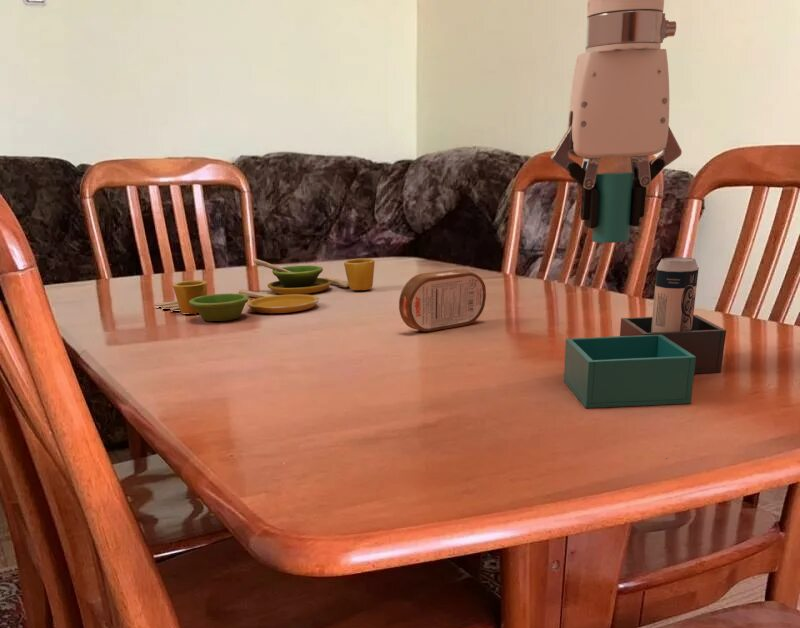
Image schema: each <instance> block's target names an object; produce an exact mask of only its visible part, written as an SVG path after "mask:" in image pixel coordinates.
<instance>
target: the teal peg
mask: <svg viewBox="0 0 800 628" xmlns="http://www.w3.org/2000/svg"><path fill="white" fill-rule="evenodd" d="M633 174H634V173H633V172H632V171H631V172H630V171H622V172H621V171H619V172H618V171H617V172H601V173H597V176H596V180H595V183H596V189H598V190H599V202H598V220H597V227H595V228H592V236H591V237H592V239H591V241H592V242H593V243H600V244H613V243H615V244H616V243H624V242H629V241H630V229H631V225H630V216H631V202H632V188H633Z"/></svg>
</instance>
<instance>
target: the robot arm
mask: <svg viewBox="0 0 800 628" xmlns="http://www.w3.org/2000/svg"><path fill="white" fill-rule="evenodd" d="M664 5H665V0H587V8H586V9H587V10H586V11H587V12H586V30H585V33H586V34H585V50H584V51H585V53H579V54H577V56H576V60H575V64H574V70H573V75H572V80H571V81H572V82H571V88H570V94H569V95H570V96H569V104H568V113H567V114H568V115H567V125H566V132H565V133H564V135H563V136H562V138H561V140H560V141H559V143H558V144H557V146H556V147H555V150H554V151H553V152H552V154H551V155H550V161H551V162H552V163H553V164H554V165H556V167H559V168H560V169H562V170H563V171H565V173H567V174H568V175H569V176H570V178H572V179H573V180H574V181H575V183H576V184H577V185H578V187H579V188H580V189H581V197H580V201H581V202H580V220H581V221H584V227H585V228H588V229H593V228H595V227H597V220H598V202H599V190H598V189H596V183H595V181H596V176H597V174H598V172H599V167H600V162H601V159H603V158H604V159H605V158H606V159H607V158H627V157H628V158H629V157H630V162H631V163H630V165H631V172H633V173H634V174H633V188H632V202H631V216H630V227H639V225H640V219H641V218H644V216H645V209H646V196H647V187H649V186H650V184H652V183H651V182H652V181H653V180H654V179H655V178H656V177H657V176H658V175H659V174H660V173H661V172H662V171H663V169H664V168H665V167H667V166H668V165H670V164H671V163H673V162H674V161H675V160H677V159H678V158H680V157H681V155H682V149H681V147H680V145H679V143H678V141H677V139H676V137H675V135H674V133H673V131H672V129H671V127H670V126H669V125H670V74H669V62H668V52H667V49H666V48H661V45H662V44H663V42H664V40H665V39H667V38H668V37H670V38H671V37H675V35H676V31H677V22H676V21H675V20H674V21H670V20H669V19H666V13H665V12H664V8H665V7H664ZM657 154H658V156H656V157H655V158H653V159H651V160H650V156H653V155H657ZM569 155H570V156H572V157H575V158H581V159H582V158H583V159H582V163H581V165H580V164H579V163H578V162H576V161H575V160H573V159H572V158H570V156H569Z"/></svg>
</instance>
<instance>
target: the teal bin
mask: <svg viewBox="0 0 800 628" xmlns="http://www.w3.org/2000/svg"><path fill="white" fill-rule="evenodd" d="M564 347H565V348H564V368H563V369H564V370H563V382H564V383H565V384H566V385H567V387H568V388H569V389H570V390H571V391H572V393H573V395H575V396H576V398H577V399H578V400H579V402H580V403H581V404H582V405H583V407H584V408H585V409H600V408H621V407H623V408H624V407H641V406H642V407H645V406H646V407H647V406H664V405H665V406H667V405H669V406H670V405H688V404H691V403H692V395H693V387H694V378H695V374H694V371H695V362H696V357H695V356H694V355H692V354H691V353H689V352H688V351H686V350H685V349H683V348H682V347H680V346H679V345H677V344H676V343H674V342H673V341H671V340H669V339H668V338H666V337H665V336H663V335H662V334H660V335H637V336H620V335H618V336H617V335H616V336H599V337H598V336H594V337H573V338H572V337H571V338H565V345H564Z"/></svg>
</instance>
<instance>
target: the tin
mask: <svg viewBox="0 0 800 628" xmlns="http://www.w3.org/2000/svg"><path fill="white" fill-rule="evenodd" d="M486 289H487V288H486V284H485V281H484V280H483V279H482V277H481V276H479V275H478V274H477V273H475V272H473V271H469V270H468V269H464V268H457V269H450V270H439V271H431V272H424V273H422V272H421V273H418V274H415V275H414V276H412V277H411V278H410V279H409V280H408V281H406V283H405V285H404V286H403V288H402V290H401V292H400V295H399V300H398V310H399V314H400V318H401V319H402V321H403V322H404V324H405V325H406V326H407V327H409V328H411V329H413V330H416V331H420V332H426V333H427V332H434V331H440V330H445V329H452V328H458V327H465V326H468V325H471V324H473V323H475V321H477V320H478V318H479V317H480V316H481V315H482V313H483V311H484V309H485V306H486V305H485V304H486V300H487V299H486V298H487V290H486Z"/></svg>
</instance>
